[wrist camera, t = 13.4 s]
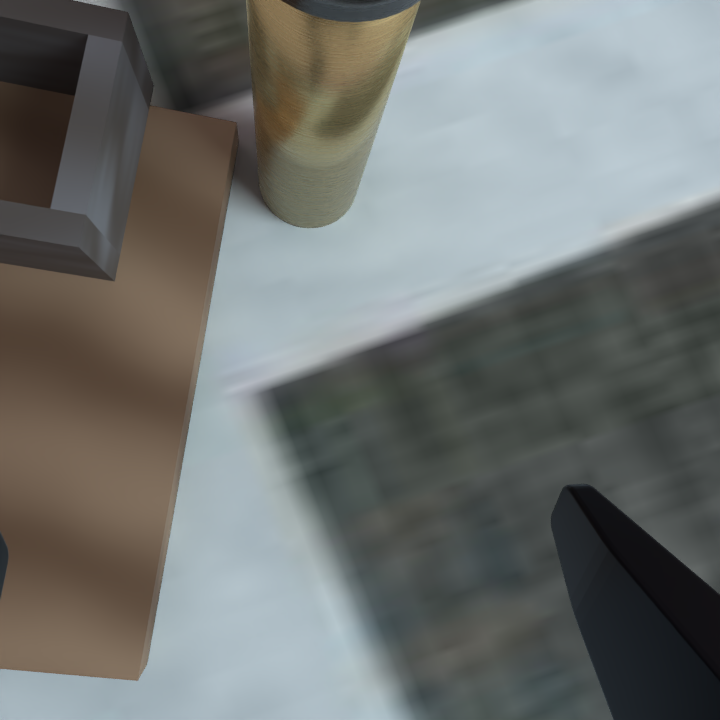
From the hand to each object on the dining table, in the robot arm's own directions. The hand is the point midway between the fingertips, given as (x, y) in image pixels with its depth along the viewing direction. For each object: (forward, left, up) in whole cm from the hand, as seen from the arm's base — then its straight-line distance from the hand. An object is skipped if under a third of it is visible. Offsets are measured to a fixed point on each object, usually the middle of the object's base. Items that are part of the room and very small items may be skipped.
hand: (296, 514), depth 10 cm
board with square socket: (+3, +11, -14) cm, 18 cm away
